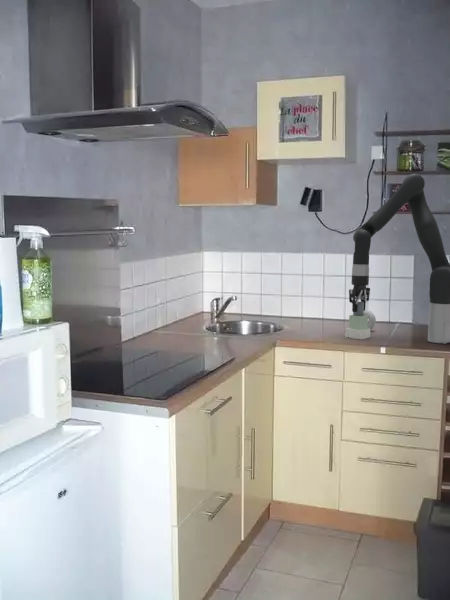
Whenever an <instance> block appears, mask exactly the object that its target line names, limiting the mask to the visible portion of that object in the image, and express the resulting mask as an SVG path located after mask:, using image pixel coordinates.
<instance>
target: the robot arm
mask: <svg viewBox="0 0 450 600" xmlns="http://www.w3.org/2000/svg"><path fill="white" fill-rule="evenodd" d="M424 188H425V179H424V177H423V176H422V175H420V174H418V173H411V174H409V175H406V177H405V178H404V179H403V181H402V183H401V185H400V186H399V188H398V189H397V190H396V192H394V193H393V195H392V196H391V197H390V198H389V199H388V200H387V201H386V202H385V203H384V204H382V206H381V207H379V208H378V209H377V210H376V211H375V212H374V213H373V214H372V215H371V216H370V217H369V218H368V220H367V221H365V223H363V224H362V225H361V226H360V227H359V228H358V229H357V230H355V232H354V233H353V236H352V238H353V240H352V241H353V242H354V252H353V255H352V267H351V268H352V269H351V285H352V286H353V288H352V289H351V288H350V289H348V294H349V295H348V299H349V303H350V304H352V306H351V307H352V309H351V311H352V313H353V312H357V307H358V304H357V303H358V302H359V300H360V302H364V311H365V310H366V306H367V305H366V304H367V302H368V301H370V294H371V293H370V292H371V288H370V287H367V286H369V284H370V283H369V281H370V280H369V279H370V266H369V265H370V250H371V243H372V237H374V236H375V234H376V233H378V232H380V230H382V229H383V228H384V227H385V226H386V225H387V224H388V223H389V222H390V221H391V220H392V219H393V217H394V216H396V214H397V213H398V212H399V210H400V209H402V207H403V206H404V205H405V204H406V203H408V205H409V208H410V211H411V216H412V221H413V224H414V229H415V231H416V235H417V238H418V240H419V243H420V245H421V247H422V249H423V250H424V252H425V254H426V256H427V257H428V258H427V259H428V260H429V263H430V268H431V273H430V277H429V292H428V295H429V309H428V327H427V328H428V329H427V341H428V342H430V343H435V344H449V343H450V262H449V259H448V257H447V254H446V252H445V248H444V243H443V239H442V236H441V232H440V228H439V225H438V223H437V220H436V217H435V216H434V215H433V213H432V210H431V209H430V207H429V205H428V203H427V199H426V196H425V191H424Z"/></svg>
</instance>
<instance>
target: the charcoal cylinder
mask: <svg viewBox="0 0 450 600" xmlns="http://www.w3.org/2000/svg"><path fill="white" fill-rule="evenodd" d="M357 304H358V307H357V312H352V315H354V316H363V314H364V302H361V301H358V303H357Z"/></svg>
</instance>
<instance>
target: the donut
mask: <svg viewBox="0 0 450 600" xmlns="http://www.w3.org/2000/svg"><path fill="white" fill-rule="evenodd" d="M363 315H368V328H370V329H371V330H372V329H374V327H375V326H376V323H377V319H376V315H375V314H374V313H373V312H372V311H371V310H368V309H365V311H364V314H363Z"/></svg>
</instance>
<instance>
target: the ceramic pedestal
mask: <svg viewBox="0 0 450 600" xmlns="http://www.w3.org/2000/svg"><path fill="white" fill-rule="evenodd" d="M371 330H372V329H370V328H368V329H363V330H356V329H350V328H349V327H347V328H346V327H345V335H344V336H345V337H344V338H348V337H349V339H354V340H364V339H365V340H366V339H369V338H371Z"/></svg>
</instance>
